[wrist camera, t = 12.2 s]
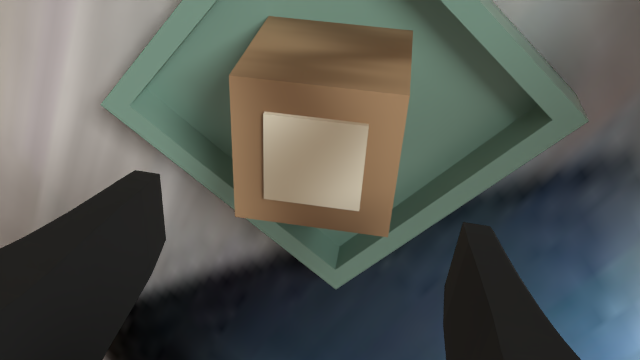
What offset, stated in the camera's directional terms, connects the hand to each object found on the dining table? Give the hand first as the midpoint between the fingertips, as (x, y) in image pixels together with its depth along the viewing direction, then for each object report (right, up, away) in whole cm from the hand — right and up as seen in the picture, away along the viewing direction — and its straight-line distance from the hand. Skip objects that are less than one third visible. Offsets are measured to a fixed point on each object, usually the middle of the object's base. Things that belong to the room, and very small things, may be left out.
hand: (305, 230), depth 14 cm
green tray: (+1, +5, +8) cm, 9 cm away
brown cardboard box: (+1, +5, +8) cm, 9 cm away
